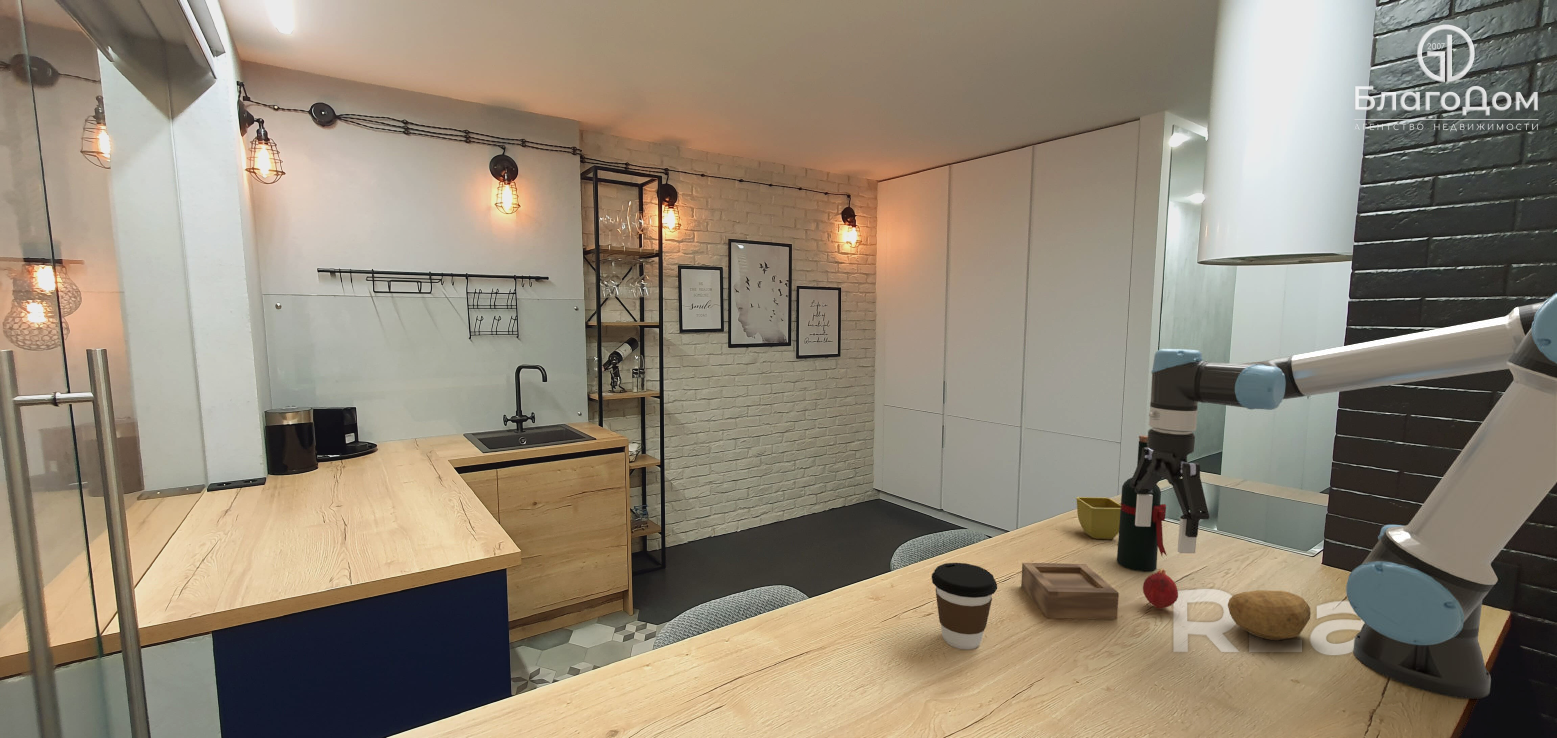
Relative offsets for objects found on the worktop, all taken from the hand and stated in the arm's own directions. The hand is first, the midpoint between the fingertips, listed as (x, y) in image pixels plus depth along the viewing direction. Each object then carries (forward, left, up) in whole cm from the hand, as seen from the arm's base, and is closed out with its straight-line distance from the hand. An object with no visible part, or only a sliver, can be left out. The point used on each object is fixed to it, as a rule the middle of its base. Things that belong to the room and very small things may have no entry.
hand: (1163, 538), depth 115 cm
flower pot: (+39, -8, -14) cm, 42 cm away
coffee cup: (-13, +42, -14) cm, 46 cm away
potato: (-9, -14, -14) cm, 22 cm away
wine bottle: (+20, -8, -14) cm, 26 cm away
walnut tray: (+2, +17, -14) cm, 22 cm away
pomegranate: (0, 0, -14) cm, 14 cm away
